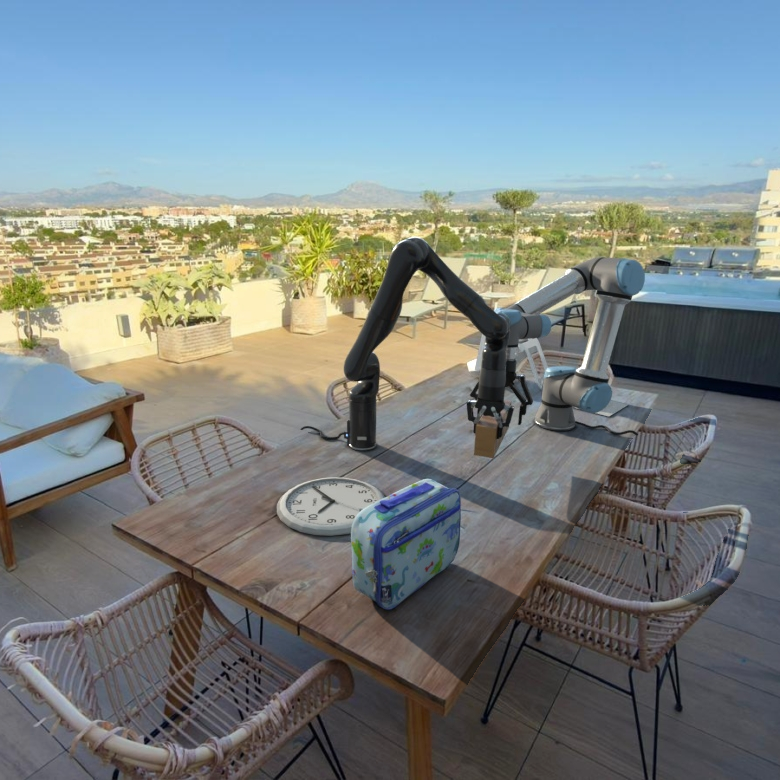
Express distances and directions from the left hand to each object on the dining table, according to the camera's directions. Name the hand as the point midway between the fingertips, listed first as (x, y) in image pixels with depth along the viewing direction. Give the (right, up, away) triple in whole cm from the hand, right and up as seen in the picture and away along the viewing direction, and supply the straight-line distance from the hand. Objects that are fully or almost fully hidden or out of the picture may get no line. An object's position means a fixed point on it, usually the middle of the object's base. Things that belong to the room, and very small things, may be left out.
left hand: (487, 436), depth 156 cm
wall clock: (-45, -18, -13) cm, 50 cm away
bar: (+3, -2, +10) cm, 11 cm away
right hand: (+7, +4, +18) cm, 19 cm away
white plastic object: (+28, +17, +102) cm, 107 cm away
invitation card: (+62, +6, +70) cm, 94 cm away
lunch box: (-25, -27, -43) cm, 57 cm away
